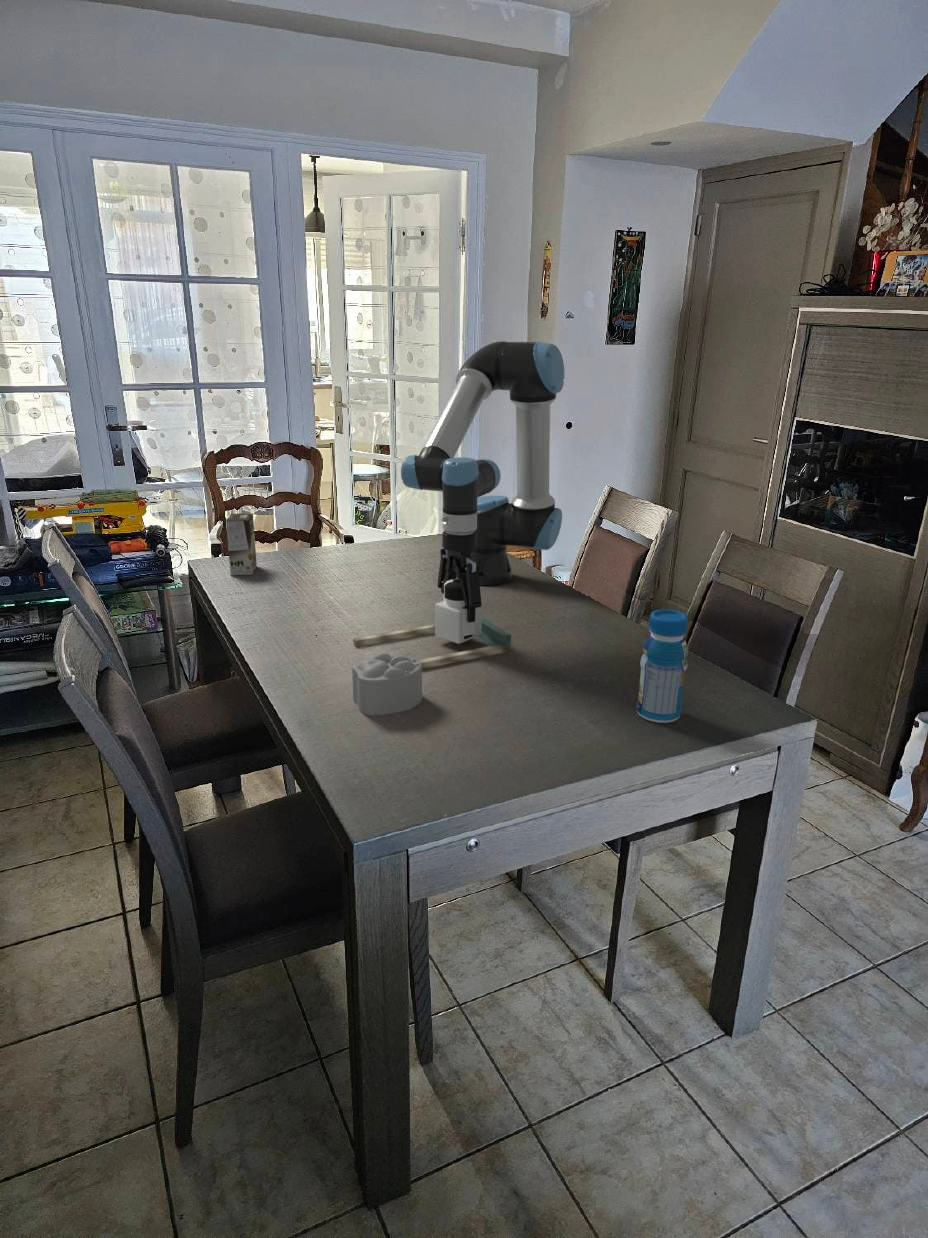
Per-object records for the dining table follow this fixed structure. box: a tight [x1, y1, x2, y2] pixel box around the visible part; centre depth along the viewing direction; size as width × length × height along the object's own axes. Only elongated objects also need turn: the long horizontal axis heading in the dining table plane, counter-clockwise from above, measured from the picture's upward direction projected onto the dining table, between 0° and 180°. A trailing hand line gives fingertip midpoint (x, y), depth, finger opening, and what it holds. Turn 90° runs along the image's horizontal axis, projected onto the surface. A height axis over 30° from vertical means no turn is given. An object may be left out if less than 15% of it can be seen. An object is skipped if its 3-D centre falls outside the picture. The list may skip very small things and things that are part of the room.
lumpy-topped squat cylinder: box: [351, 652, 423, 717], centre depth 153 cm, size 10×13×9 cm
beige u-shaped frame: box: [352, 615, 512, 670], centre depth 179 cm, size 30×19×4 cm, turn 119°
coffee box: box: [225, 512, 258, 576], centre depth 228 cm, size 9×6×16 cm
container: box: [434, 578, 483, 645], centre depth 179 cm, size 8×8×13 cm
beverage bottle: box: [635, 608, 689, 724], centre depth 147 cm, size 8×8×20 cm
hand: (458, 627), depth 181 cm, fingers closed on container, 9 cm apart
